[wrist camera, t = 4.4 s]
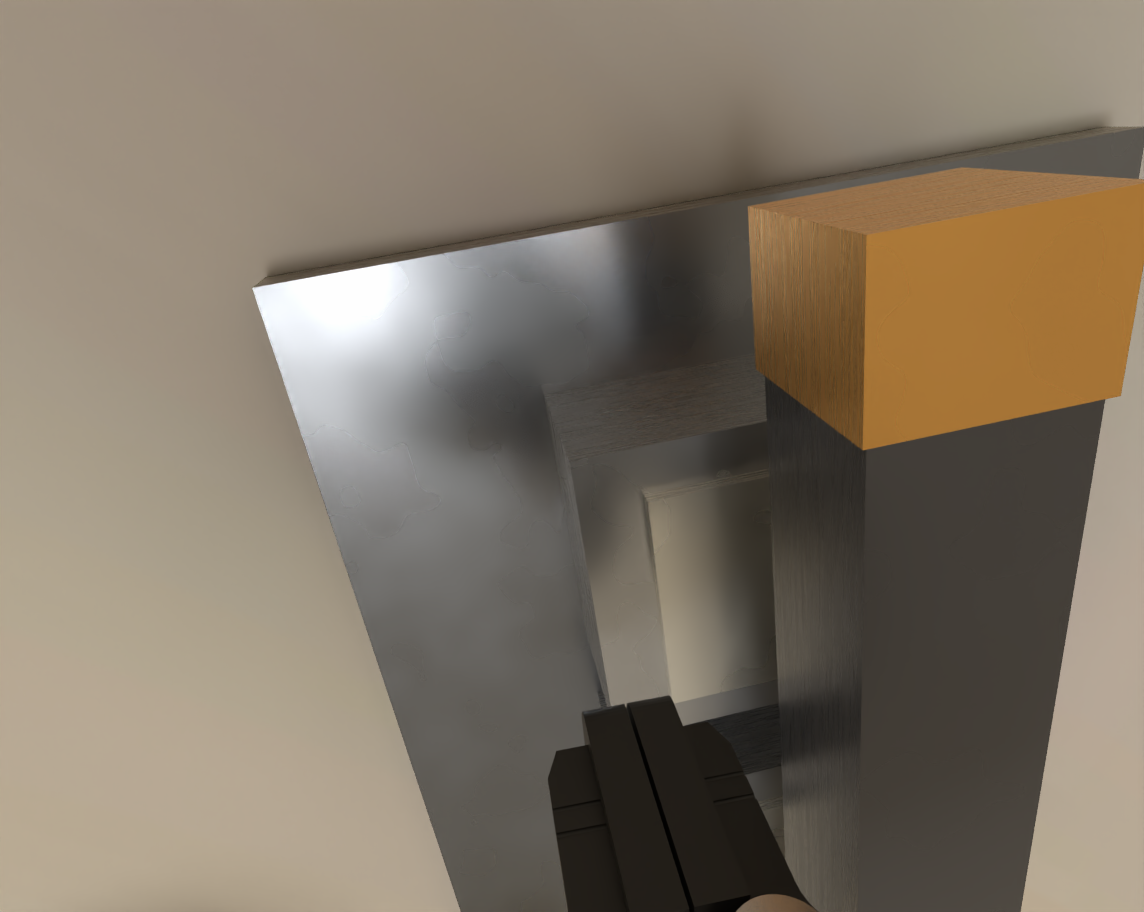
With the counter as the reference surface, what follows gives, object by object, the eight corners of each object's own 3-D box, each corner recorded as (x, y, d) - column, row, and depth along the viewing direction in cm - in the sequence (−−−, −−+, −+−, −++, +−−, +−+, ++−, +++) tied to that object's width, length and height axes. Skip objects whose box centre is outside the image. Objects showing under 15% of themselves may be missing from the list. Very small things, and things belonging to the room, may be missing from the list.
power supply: (597, 692, 21) (630, 814, 17) (898, 622, 21) (993, 725, 18) (626, 858, 24) (660, 993, 20) (890, 792, 24) (970, 910, 21)
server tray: (265, 277, 16) (159, 362, 10) (1104, 127, 18) (1438, 124, 12) (489, 967, 27) (502, 1209, 21) (1004, 833, 28) (1154, 1022, 22)
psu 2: (544, 395, 17) (572, 468, 13) (911, 322, 18) (1035, 372, 14) (587, 636, 20) (619, 751, 16) (900, 565, 21) (1000, 660, 17)
